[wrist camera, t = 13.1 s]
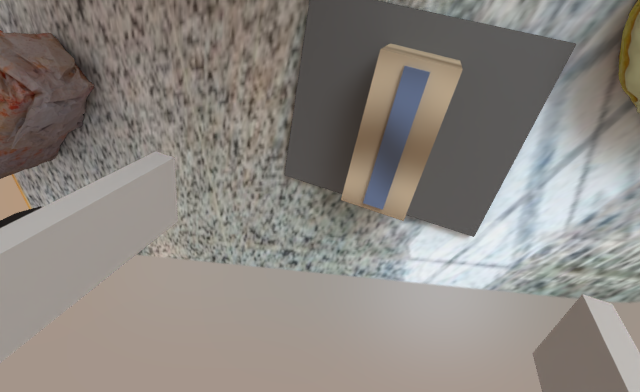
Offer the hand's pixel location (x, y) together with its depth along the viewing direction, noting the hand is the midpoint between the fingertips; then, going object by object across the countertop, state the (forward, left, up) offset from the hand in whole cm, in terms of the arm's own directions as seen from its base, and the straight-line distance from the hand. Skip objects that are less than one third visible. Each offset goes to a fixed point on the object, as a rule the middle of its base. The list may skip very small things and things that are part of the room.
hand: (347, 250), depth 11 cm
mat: (0, 0, -16) cm, 16 cm away
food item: (-33, -7, -17) cm, 37 cm away
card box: (0, 0, -16) cm, 16 cm away
